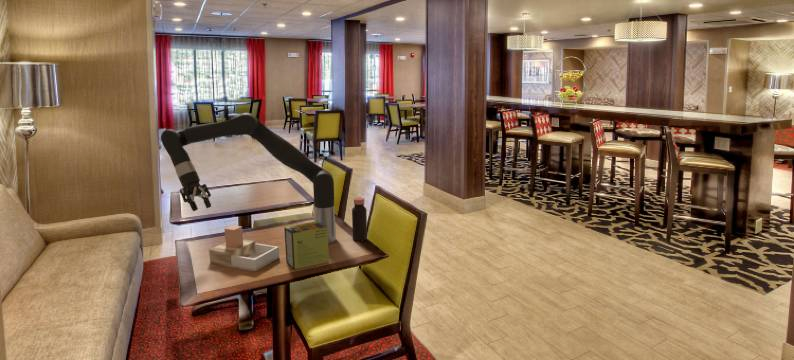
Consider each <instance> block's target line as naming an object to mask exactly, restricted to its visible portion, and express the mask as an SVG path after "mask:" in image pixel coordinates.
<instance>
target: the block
mask: <svg viewBox="0 0 794 360" xmlns="http://www.w3.org/2000/svg"><path fill="white" fill-rule="evenodd" d="M224 238H225V240H224V241H225V242H226V247H231V248H237V247H239V246H241V245H243V239H244V235H243V226H241V225H234V224H231V225H230V226H227V227H225V228H224ZM225 242H224V243H225Z"/></svg>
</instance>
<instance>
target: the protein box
mask: <svg viewBox="0 0 794 360" xmlns="http://www.w3.org/2000/svg"><path fill="white" fill-rule="evenodd" d="M283 228H284V241H285V242H284V243H285V244H284V246H285V260H286V261H285V262H286V263H287V264H288V265H290V267H292V269H294V270H298V269H303V268H307V267H312V266H316V265H321V264H325V263H329V261H330V257H329V256H330V255H329V253H330V252H329V244H328V227H327V226H325V225H324V224H322V223H320V222H319V221H315V220H314V221H309V222H305V223H304V222H303V223H299V224H294V225H288V226H284V227H283Z"/></svg>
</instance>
